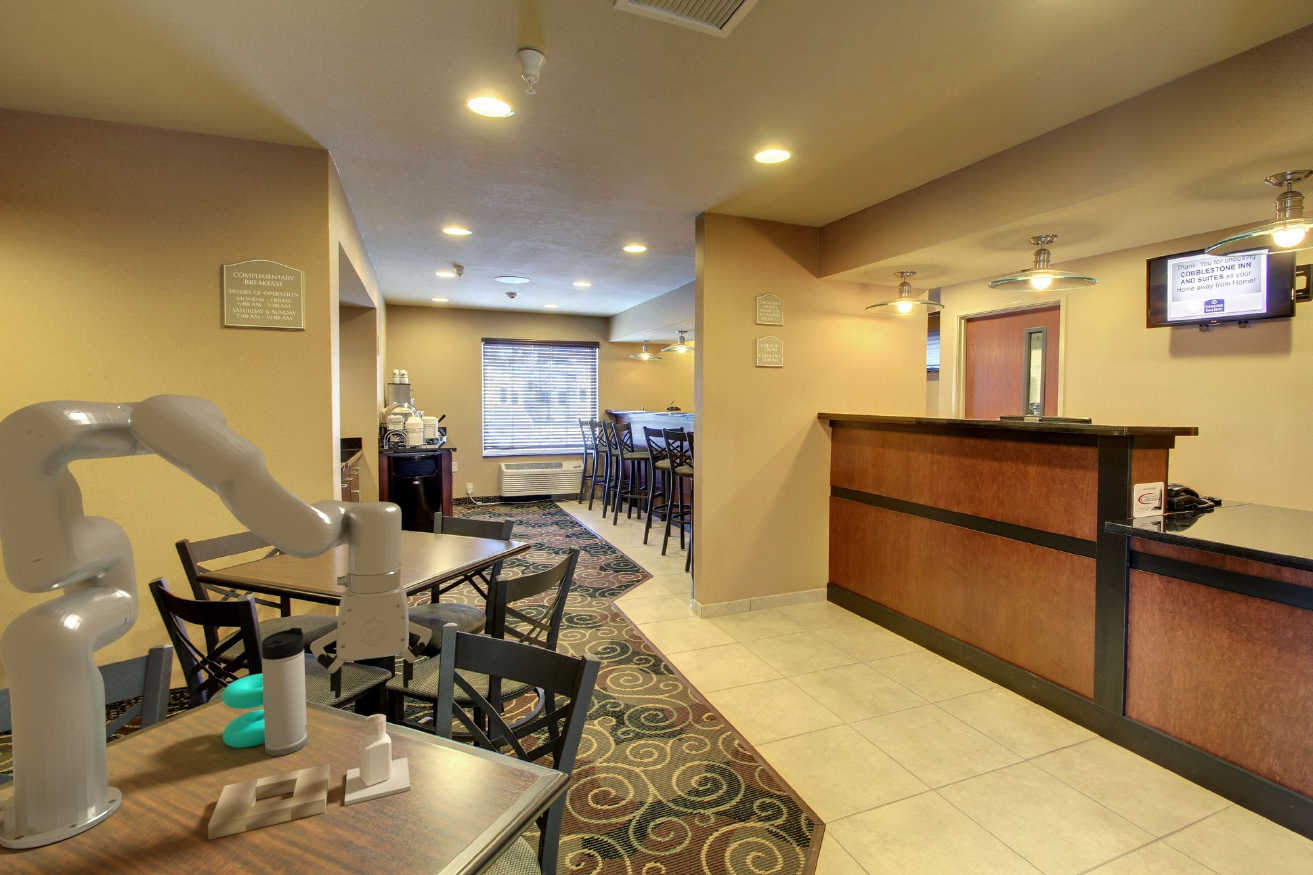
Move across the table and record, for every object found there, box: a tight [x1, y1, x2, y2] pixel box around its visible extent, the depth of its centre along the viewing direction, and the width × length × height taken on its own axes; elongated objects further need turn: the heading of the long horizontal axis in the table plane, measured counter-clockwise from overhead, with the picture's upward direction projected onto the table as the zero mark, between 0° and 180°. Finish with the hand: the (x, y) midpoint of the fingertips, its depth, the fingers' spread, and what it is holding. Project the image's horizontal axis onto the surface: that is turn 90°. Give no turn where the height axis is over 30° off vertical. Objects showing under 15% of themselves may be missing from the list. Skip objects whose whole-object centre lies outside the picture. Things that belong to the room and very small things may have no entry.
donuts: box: [221, 672, 265, 748], centre depth 110 cm, size 10×10×10 cm
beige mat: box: [344, 757, 411, 806], centre depth 96 cm, size 9×9×1 cm
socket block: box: [207, 763, 331, 841], centre depth 90 cm, size 14×10×2 cm
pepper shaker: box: [358, 713, 392, 786], centre depth 96 cm, size 4×4×10 cm
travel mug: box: [261, 627, 308, 757], centre depth 106 cm, size 6×7×20 cm
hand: (372, 689), depth 95 cm, fingers open, 9 cm apart
